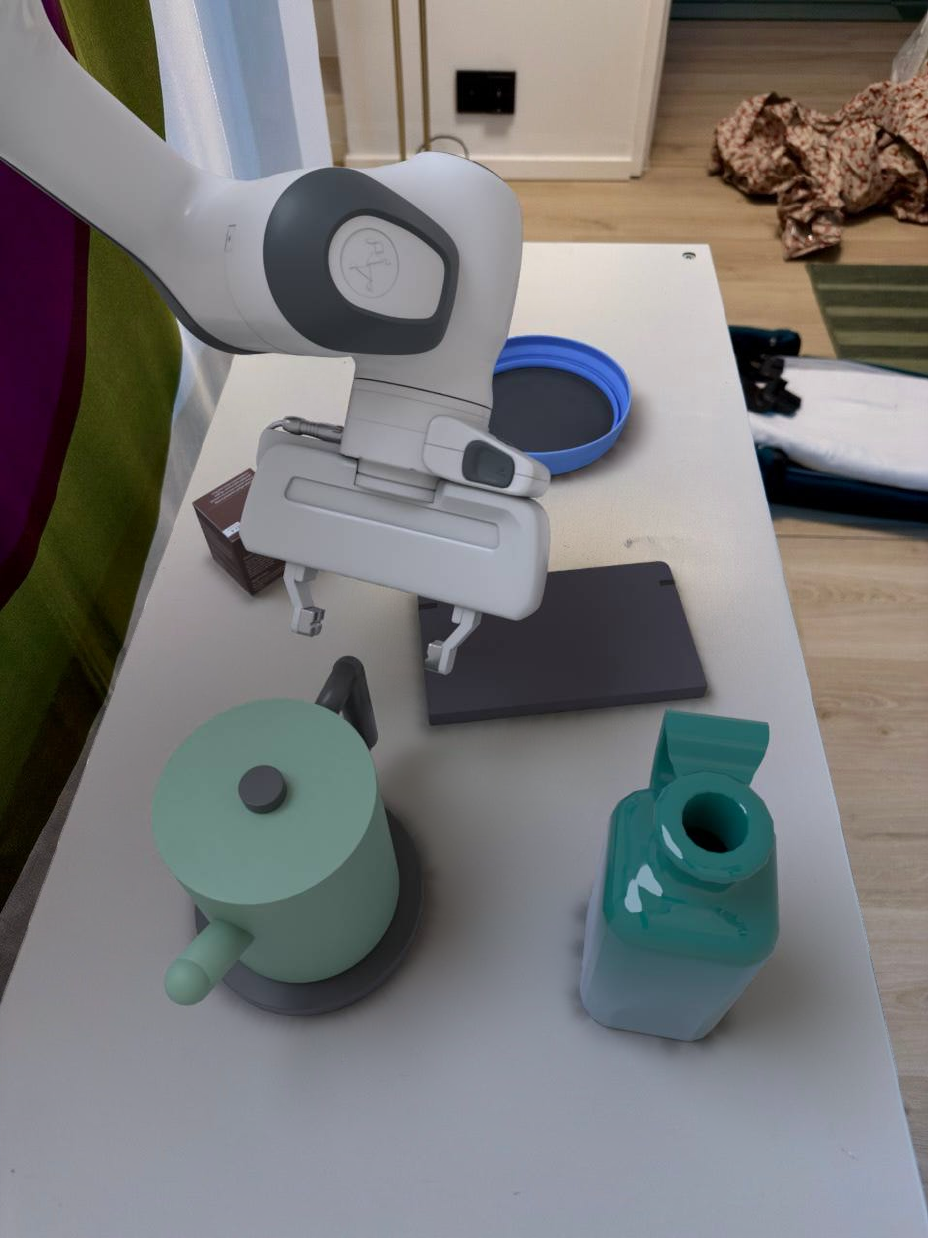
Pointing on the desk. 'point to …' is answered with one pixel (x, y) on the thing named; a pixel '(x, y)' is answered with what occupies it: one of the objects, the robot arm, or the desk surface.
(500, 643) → the notebook
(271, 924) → the kettle
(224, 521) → the box
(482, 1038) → the desk surface
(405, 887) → the kettle base
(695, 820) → the pitcher
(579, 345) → the bowl
